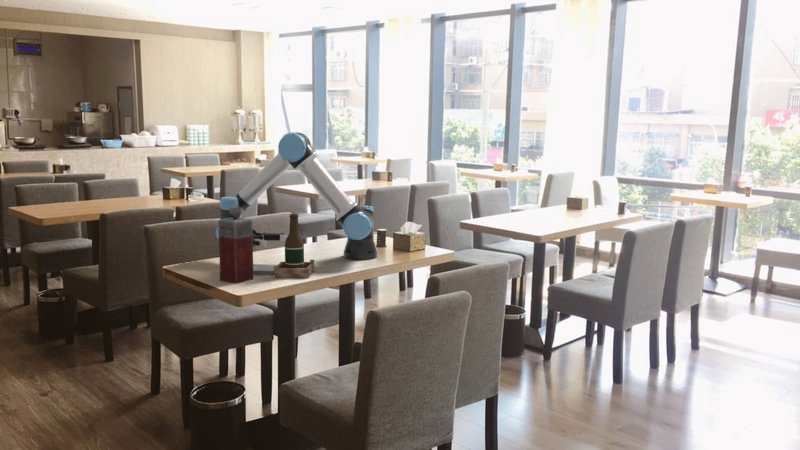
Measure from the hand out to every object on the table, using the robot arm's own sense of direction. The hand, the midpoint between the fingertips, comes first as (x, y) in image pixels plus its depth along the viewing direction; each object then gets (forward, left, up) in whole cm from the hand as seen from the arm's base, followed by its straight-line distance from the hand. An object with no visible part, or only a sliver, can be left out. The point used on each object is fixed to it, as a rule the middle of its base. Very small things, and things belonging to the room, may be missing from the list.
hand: (279, 241), depth 274 cm
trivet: (+6, +1, -12) cm, 13 cm away
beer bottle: (-7, +5, -12) cm, 15 cm away
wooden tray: (-7, +5, -12) cm, 15 cm away
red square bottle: (+14, +16, -12) cm, 24 cm away
